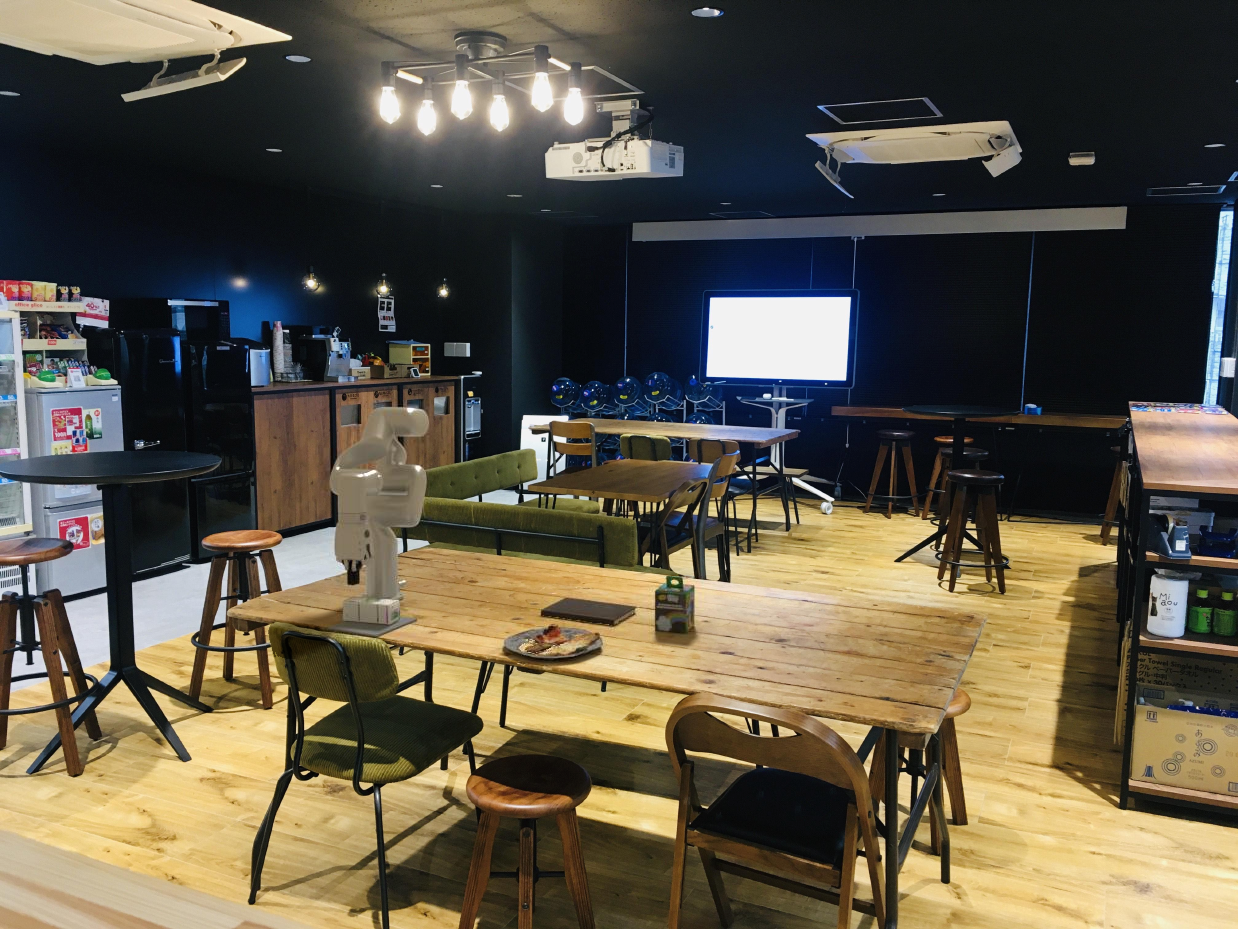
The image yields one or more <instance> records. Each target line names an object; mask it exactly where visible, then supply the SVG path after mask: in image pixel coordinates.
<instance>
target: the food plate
mask: <svg viewBox="0 0 1238 929" xmlns="http://www.w3.org/2000/svg"><path fill="white" fill-rule="evenodd" d="M600 636H601V634H600V632H591V631H588V630H586V629H583V628H582V629H580V628H575V627H564V626H559V625H558V624H556V625H549V626H547V627H541V628H532V629H527V630H526V631H525V630H524V631H521V632H519V633H518V632H517V633H516V634H513V635H510V636H508V637H506V638H505V639H504V640H503V645H505V648H506V649H508V650H510V651H512V652H513V653H514V652H515V653H517V654H521V655H522V656H529V657H532V658H537V659H538V658H539V659H544V660H545V659H546V660H548V659H549V661H553V660H554V659H558V658H569V657H575V656H579V655H582V654H586V653H589V652H590V651H593V650H596V649H599V648H600V647H602V646H603V644H604V642H603V638H602V637H600ZM526 639H528V641H526ZM530 639H532V640H535V643H537V644H533V646H532V645H528V646H526V647H525V648H524V651H523V650H522V649H521V650H522V651H521V650H520V649H519V647H520V646H521V645H522V644H524V643H525V644H527V642H528V643H530V642H529V641H532V640H530ZM560 644H563V645H560ZM553 645H555V646H553ZM552 646H553V647H554V648H553V649H551V650H548V651H544V650H546V649H549V648H551V647H552ZM525 650H527V652H531V653H536V652H539V651H543V652H540V653H536V654H537V655H536V654H529V653H527V652H526V651H525Z"/></svg>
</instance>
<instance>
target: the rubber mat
mask: <svg viewBox="0 0 1238 929" xmlns="http://www.w3.org/2000/svg"><path fill="white" fill-rule="evenodd" d="M415 622H418V618H415V617H410V616H409V617H407V616H402V615H400V619H399V620H398V621H396V622H394V623H392V624H390V625H388V624H377V623H365V622H354V621H344V620H343V622H342V621H341V622H339V623H336V624H334V625H331V626H329V627H327V630H330V631H335V632H341V633H347V634H355V635H362V636H366V637H373V638H379V637H380V636H382V635H385V634H388V633H391V632H392V631H395V630H398V629H400V628H403V627H405V626H407V625H409V624H412V623H415Z"/></svg>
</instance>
